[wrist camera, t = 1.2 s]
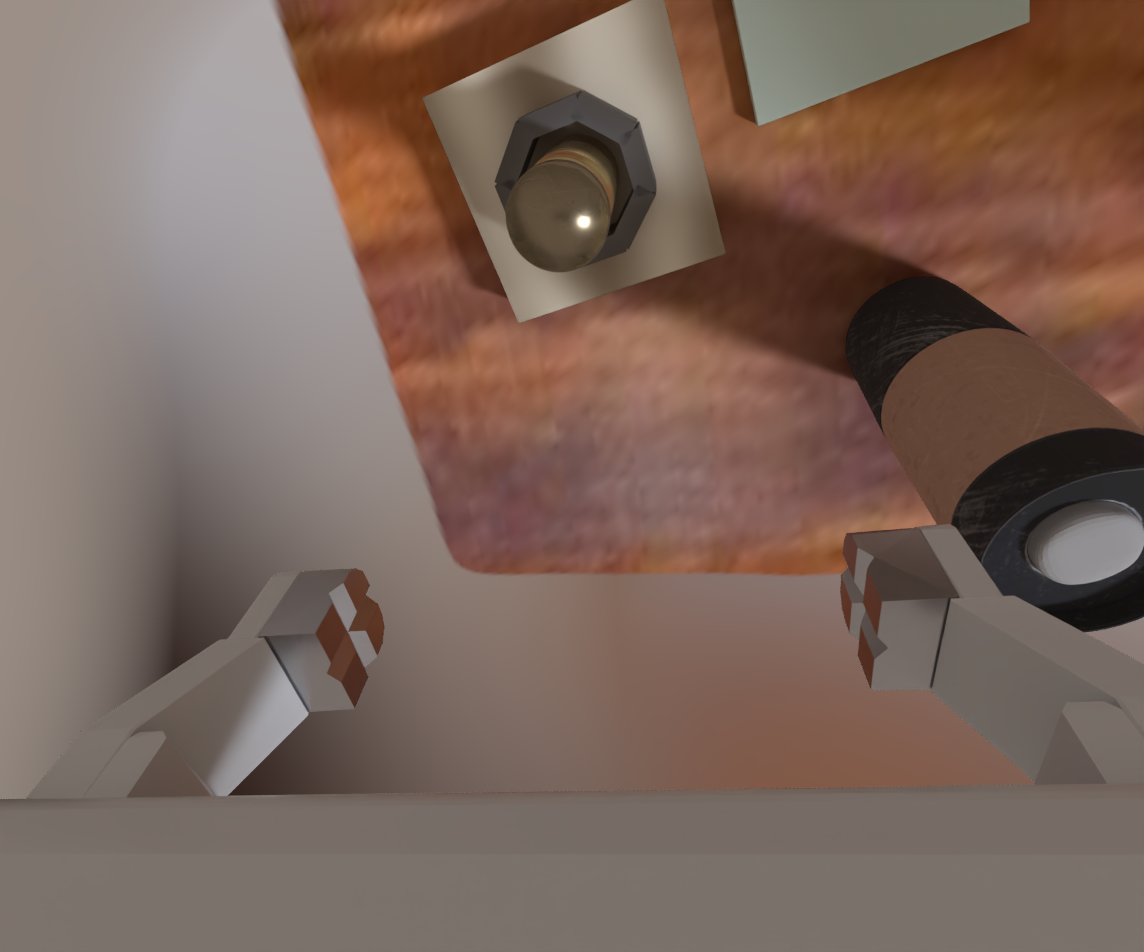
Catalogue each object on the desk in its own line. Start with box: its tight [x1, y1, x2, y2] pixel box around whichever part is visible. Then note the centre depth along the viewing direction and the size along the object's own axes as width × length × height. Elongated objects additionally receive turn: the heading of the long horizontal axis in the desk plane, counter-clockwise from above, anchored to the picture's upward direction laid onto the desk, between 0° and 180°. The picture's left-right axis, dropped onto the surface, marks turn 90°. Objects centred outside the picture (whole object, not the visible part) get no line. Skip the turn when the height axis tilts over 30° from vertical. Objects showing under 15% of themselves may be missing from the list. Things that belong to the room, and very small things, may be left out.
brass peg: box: [506, 135, 619, 272], centre depth 29 cm, size 4×4×9 cm
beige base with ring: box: [422, 0, 726, 323], centre depth 33 cm, size 12×12×6 cm
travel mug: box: [846, 277, 1144, 632], centre depth 30 cm, size 8×8×20 cm
